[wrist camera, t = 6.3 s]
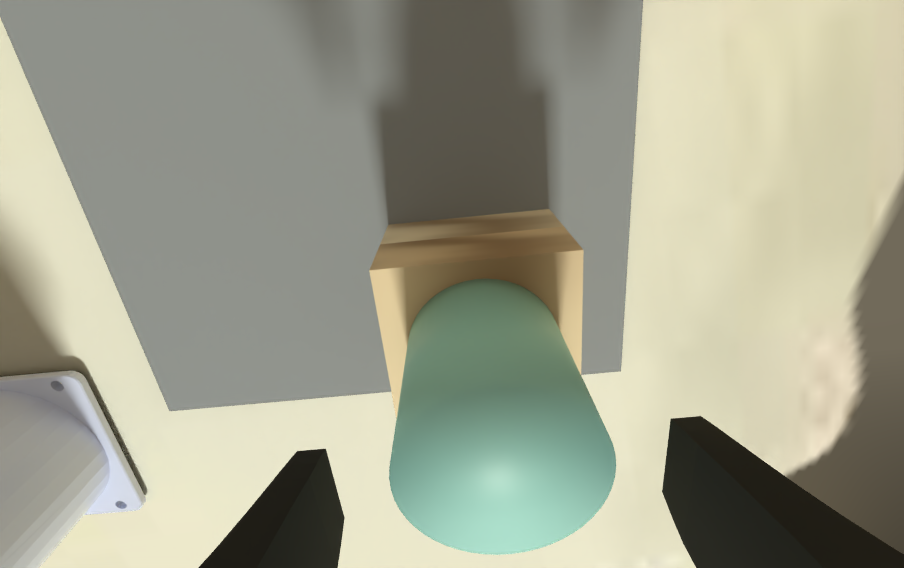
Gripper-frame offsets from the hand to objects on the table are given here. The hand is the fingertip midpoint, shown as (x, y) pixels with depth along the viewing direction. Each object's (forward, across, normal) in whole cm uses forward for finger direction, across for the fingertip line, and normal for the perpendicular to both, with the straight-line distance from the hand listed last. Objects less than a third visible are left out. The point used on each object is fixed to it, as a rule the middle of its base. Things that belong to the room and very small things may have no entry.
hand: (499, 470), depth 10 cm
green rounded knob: (+5, 0, 0) cm, 5 cm away
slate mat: (+10, +4, -4) cm, 11 cm away
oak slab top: (+7, 0, 0) cm, 7 cm away
